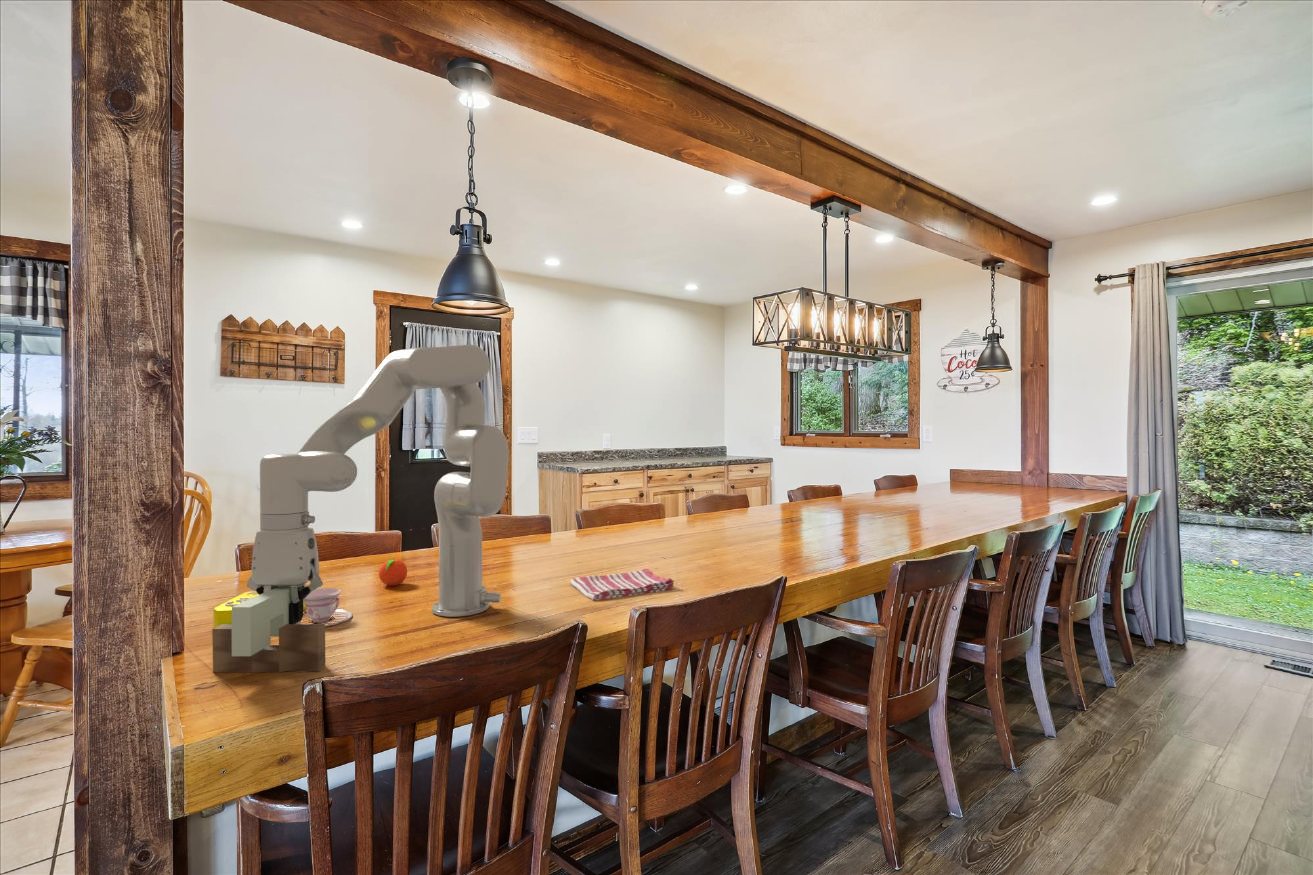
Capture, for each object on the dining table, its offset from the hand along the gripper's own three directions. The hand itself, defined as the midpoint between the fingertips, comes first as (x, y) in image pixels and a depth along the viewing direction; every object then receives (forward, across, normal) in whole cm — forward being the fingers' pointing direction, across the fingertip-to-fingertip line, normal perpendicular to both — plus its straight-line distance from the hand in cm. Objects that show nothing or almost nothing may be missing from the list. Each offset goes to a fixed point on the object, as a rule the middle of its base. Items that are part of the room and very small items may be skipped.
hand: (285, 621), depth 115 cm
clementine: (+7, +1, -51) cm, 52 cm away
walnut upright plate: (+7, 0, +5) cm, 8 cm away
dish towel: (+7, -59, -49) cm, 77 cm away
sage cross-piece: (+2, 0, +5) cm, 5 cm away
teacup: (+7, +5, -23) cm, 24 cm away
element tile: (+7, +19, -25) cm, 32 cm away
